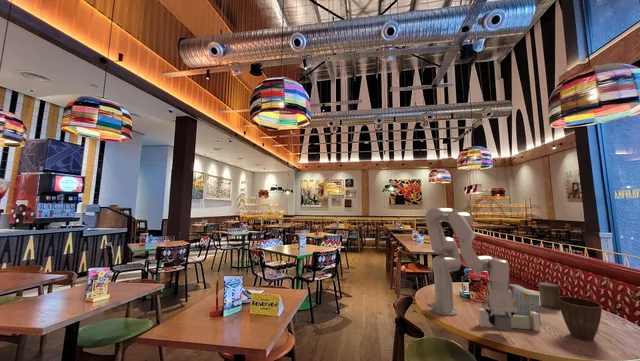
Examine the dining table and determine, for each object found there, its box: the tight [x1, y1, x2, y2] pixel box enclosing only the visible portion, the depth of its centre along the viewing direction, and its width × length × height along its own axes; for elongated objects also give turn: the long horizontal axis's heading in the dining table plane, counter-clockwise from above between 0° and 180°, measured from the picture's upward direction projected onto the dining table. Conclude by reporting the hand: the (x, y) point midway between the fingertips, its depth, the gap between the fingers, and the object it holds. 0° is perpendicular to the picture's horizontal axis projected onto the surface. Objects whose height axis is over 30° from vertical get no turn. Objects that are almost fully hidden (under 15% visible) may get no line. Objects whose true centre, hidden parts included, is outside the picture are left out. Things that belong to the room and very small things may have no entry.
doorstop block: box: [492, 311, 512, 331], centre depth 124 cm, size 6×7×5 cm
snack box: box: [509, 283, 541, 326], centre depth 145 cm, size 21×6×15 cm, turn 168°
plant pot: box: [558, 296, 603, 342], centre depth 122 cm, size 15×15×16 cm
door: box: [492, 314, 533, 330], centre depth 130 cm, size 18×2×6 cm, turn 82°
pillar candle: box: [538, 281, 561, 311], centre depth 161 cm, size 10×10×15 cm
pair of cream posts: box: [477, 308, 541, 332], centre depth 131 cm, size 27×3×8 cm, turn 82°
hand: (499, 324), depth 123 cm, fingers closed on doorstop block, 6 cm apart
